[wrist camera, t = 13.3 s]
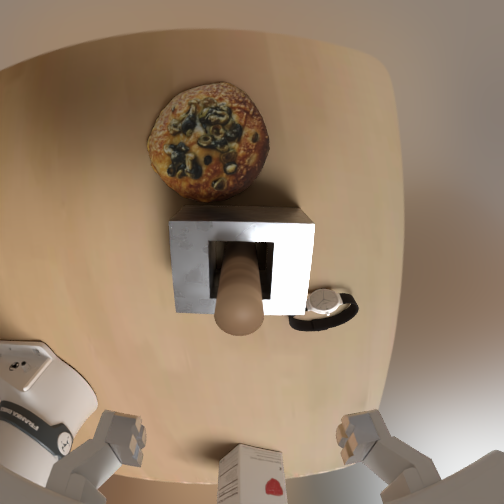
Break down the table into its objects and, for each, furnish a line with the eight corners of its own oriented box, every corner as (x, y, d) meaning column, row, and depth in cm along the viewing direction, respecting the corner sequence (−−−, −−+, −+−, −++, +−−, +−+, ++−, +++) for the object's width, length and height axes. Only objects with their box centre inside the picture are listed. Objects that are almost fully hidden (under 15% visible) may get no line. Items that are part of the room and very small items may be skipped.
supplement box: (283, 451, 42) (292, 520, 28) (258, 469, 45) (262, 530, 31) (239, 442, 40) (239, 517, 26) (217, 460, 43) (214, 526, 29)
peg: (225, 233, 28) (213, 293, 16) (256, 234, 28) (265, 294, 16) (225, 262, 29) (215, 335, 17) (255, 263, 29) (262, 336, 18)
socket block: (187, 281, 29) (176, 312, 24) (184, 205, 26) (168, 221, 21) (293, 283, 30) (304, 314, 24) (300, 207, 27) (314, 224, 21)
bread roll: (266, 203, 27) (263, 212, 22) (156, 197, 28) (133, 205, 23) (273, 88, 23) (271, 72, 18) (161, 91, 24) (138, 80, 19)
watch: (352, 281, 30) (364, 297, 27) (352, 316, 32) (362, 333, 28) (284, 293, 30) (289, 311, 27) (288, 328, 32) (293, 348, 29)
